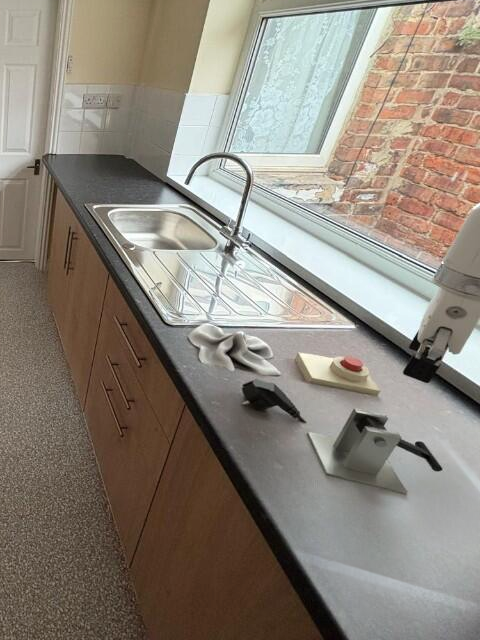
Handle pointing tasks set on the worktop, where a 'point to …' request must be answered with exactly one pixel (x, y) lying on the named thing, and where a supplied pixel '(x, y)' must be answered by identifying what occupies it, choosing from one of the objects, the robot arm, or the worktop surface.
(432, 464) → the switch lever
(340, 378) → the control block
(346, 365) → the button
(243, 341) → the cloth
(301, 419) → the power plug
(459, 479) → the worktop surface
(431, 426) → the worktop surface
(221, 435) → the worktop surface
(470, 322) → the robot arm
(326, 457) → the lever mounting bracket
